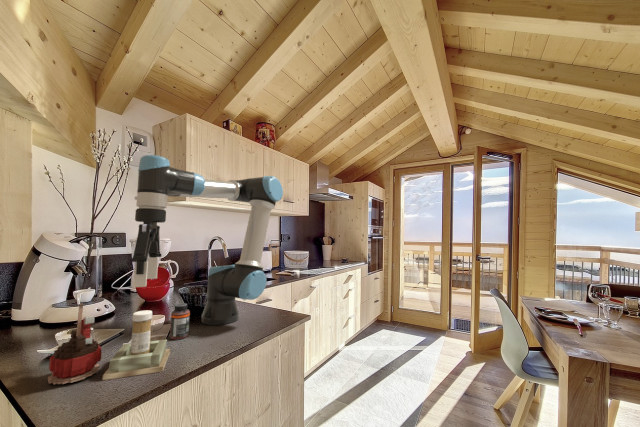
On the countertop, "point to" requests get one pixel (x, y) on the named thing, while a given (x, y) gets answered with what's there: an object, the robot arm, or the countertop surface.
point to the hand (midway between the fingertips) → (146, 282)
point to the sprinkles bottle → (141, 332)
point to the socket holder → (138, 361)
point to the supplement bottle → (179, 322)
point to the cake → (76, 354)
